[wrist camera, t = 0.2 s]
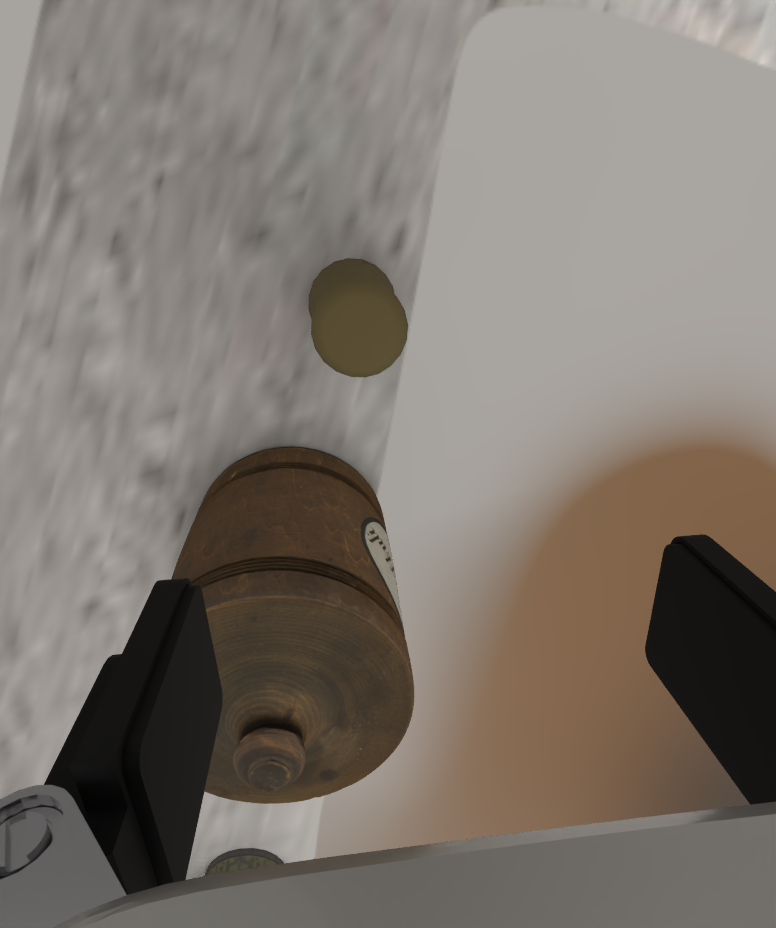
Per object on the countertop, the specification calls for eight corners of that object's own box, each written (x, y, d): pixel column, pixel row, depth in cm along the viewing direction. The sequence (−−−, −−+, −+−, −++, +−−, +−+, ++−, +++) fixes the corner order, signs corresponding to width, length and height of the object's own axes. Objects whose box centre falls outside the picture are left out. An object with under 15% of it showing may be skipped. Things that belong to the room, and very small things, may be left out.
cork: (302, 262, 37) (293, 279, 27) (392, 254, 38) (416, 267, 28) (314, 352, 40) (310, 398, 30) (399, 343, 40) (423, 385, 30)
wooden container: (355, 619, 50) (374, 892, 30) (183, 586, 47) (74, 865, 27) (409, 472, 44) (476, 681, 24) (219, 423, 41) (118, 617, 21)
